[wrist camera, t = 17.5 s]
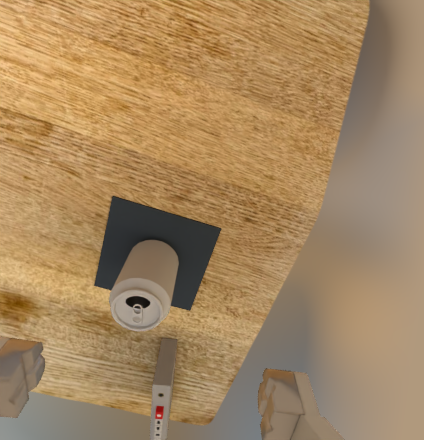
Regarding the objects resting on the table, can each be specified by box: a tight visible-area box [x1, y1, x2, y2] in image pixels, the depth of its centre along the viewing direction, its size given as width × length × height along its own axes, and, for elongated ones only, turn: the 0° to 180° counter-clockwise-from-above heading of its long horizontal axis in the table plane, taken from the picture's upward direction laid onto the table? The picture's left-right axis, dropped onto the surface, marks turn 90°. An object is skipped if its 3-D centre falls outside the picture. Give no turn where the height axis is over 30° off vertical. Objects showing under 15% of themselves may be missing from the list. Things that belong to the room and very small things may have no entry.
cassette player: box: [150, 338, 177, 440], centre depth 52 cm, size 16×3×10 cm, turn 173°
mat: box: [94, 196, 221, 311], centre depth 46 cm, size 16×16×1 cm
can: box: [109, 240, 179, 331], centre depth 41 cm, size 8×8×12 cm
